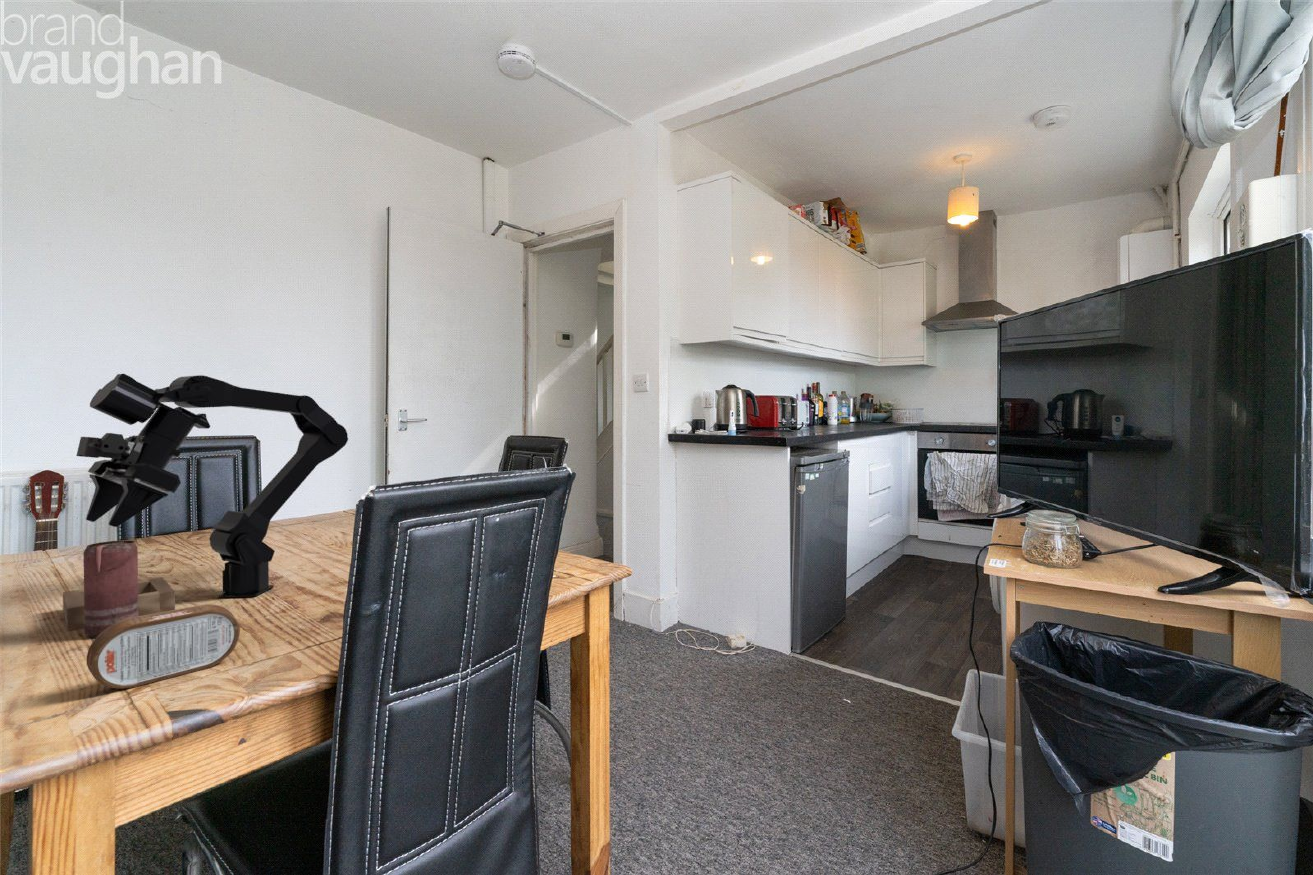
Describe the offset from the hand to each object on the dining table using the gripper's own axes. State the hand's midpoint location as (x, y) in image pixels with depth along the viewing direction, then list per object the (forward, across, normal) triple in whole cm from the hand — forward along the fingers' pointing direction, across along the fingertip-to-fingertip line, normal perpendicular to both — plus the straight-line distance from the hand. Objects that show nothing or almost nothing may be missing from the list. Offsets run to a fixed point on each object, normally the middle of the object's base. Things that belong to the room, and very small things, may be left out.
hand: (100, 523), depth 91 cm
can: (+15, +4, +8) cm, 17 cm away
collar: (+12, -7, +12) cm, 19 cm away
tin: (+16, +31, +6) cm, 36 cm away
